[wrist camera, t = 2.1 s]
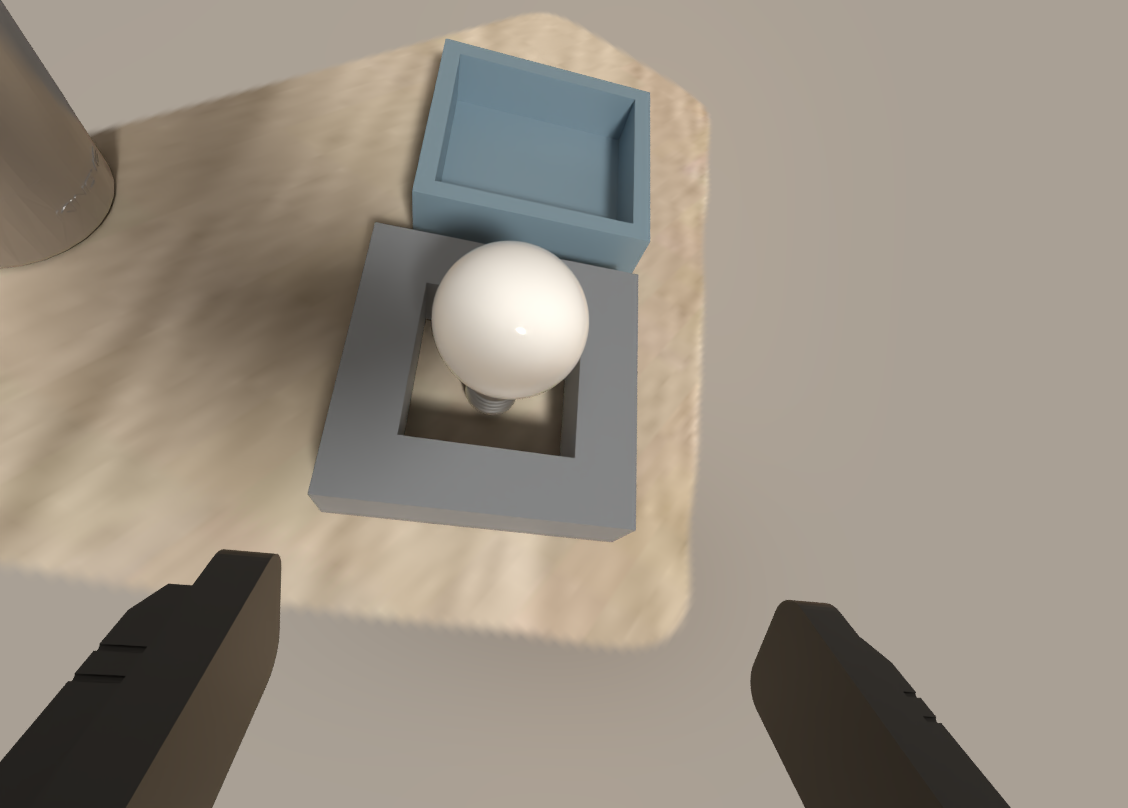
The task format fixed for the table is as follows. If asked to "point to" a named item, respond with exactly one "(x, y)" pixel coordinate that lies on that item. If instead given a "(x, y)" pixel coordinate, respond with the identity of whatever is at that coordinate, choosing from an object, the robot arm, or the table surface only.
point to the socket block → (463, 471)
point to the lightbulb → (509, 323)
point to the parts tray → (535, 159)
